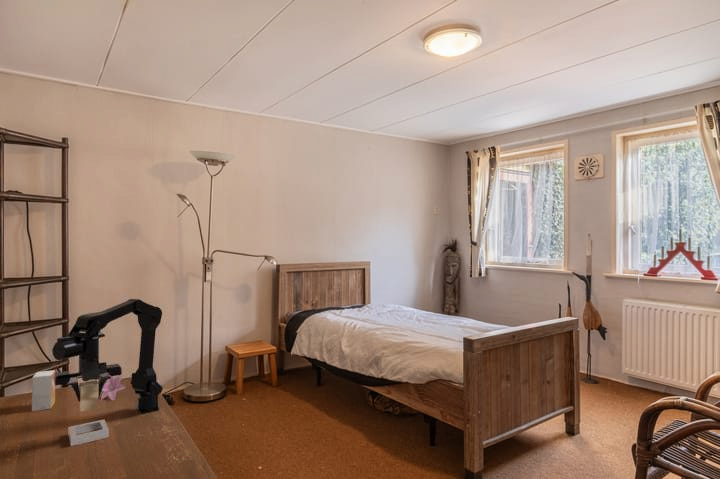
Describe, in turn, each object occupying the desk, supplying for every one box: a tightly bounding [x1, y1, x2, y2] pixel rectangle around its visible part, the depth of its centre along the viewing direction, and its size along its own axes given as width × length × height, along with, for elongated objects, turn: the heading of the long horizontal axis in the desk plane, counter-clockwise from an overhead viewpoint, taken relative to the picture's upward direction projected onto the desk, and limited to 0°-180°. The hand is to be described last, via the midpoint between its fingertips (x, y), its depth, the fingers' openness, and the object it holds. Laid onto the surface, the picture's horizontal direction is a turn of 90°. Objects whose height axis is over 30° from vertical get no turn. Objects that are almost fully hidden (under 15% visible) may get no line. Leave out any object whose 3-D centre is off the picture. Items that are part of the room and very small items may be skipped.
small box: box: [31, 369, 56, 412], centre depth 172 cm, size 8×6×13 cm
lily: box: [100, 373, 126, 401], centre depth 183 cm, size 11×11×9 cm
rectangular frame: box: [67, 419, 110, 447], centre depth 146 cm, size 10×10×2 cm
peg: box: [78, 379, 100, 412], centre depth 146 cm, size 5×5×8 cm
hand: (88, 399), depth 146 cm, fingers closed on peg, 5 cm apart
